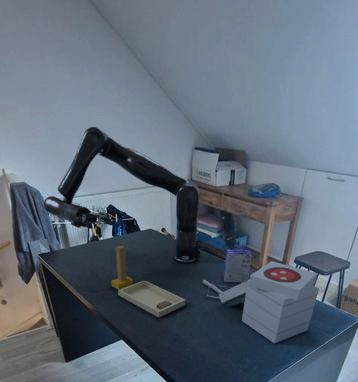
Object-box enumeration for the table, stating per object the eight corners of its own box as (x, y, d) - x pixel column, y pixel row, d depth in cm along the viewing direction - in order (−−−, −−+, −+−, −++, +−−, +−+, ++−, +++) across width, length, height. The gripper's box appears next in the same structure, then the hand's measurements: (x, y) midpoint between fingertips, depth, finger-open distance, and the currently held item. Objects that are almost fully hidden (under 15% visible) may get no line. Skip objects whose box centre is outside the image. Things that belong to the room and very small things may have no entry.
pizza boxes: (252, 293, 128) (259, 248, 119) (316, 331, 107) (332, 279, 97) (212, 305, 119) (216, 257, 110) (273, 349, 98) (286, 294, 88)
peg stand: (111, 287, 129) (108, 247, 120) (126, 282, 133) (124, 243, 125) (119, 291, 126) (116, 250, 118) (133, 286, 131) (131, 246, 122)
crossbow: (242, 298, 127) (243, 293, 126) (215, 306, 121) (216, 301, 120) (216, 279, 137) (216, 275, 136) (190, 286, 132) (191, 281, 130)
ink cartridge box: (246, 277, 141) (251, 244, 133) (248, 283, 136) (253, 248, 128) (223, 276, 141) (226, 243, 133) (224, 282, 136) (228, 247, 129)
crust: (156, 307, 115) (156, 304, 115) (166, 303, 118) (166, 300, 118) (162, 310, 114) (162, 307, 113) (172, 306, 117) (172, 303, 116)
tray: (118, 296, 123) (118, 290, 121) (144, 286, 131) (144, 280, 129) (158, 319, 110) (158, 312, 109) (185, 306, 118) (185, 299, 117)
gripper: (59, 208, 127) (83, 216, 118) (92, 202, 136) (116, 210, 127) (62, 227, 131) (86, 237, 122) (93, 221, 140) (117, 230, 131)
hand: (101, 223), depth 124 cm, fingers open, 8 cm apart
